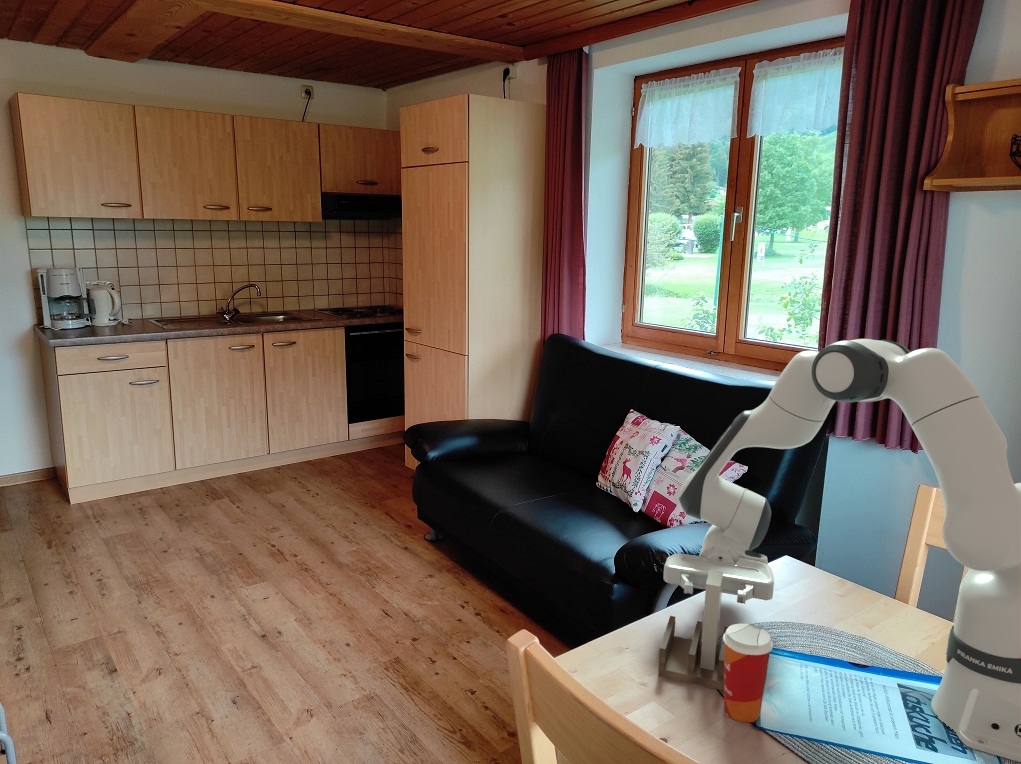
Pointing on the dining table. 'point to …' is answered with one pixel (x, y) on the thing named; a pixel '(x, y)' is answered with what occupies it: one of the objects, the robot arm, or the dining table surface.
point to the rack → (689, 658)
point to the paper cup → (745, 671)
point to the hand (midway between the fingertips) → (714, 594)
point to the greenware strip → (711, 619)
